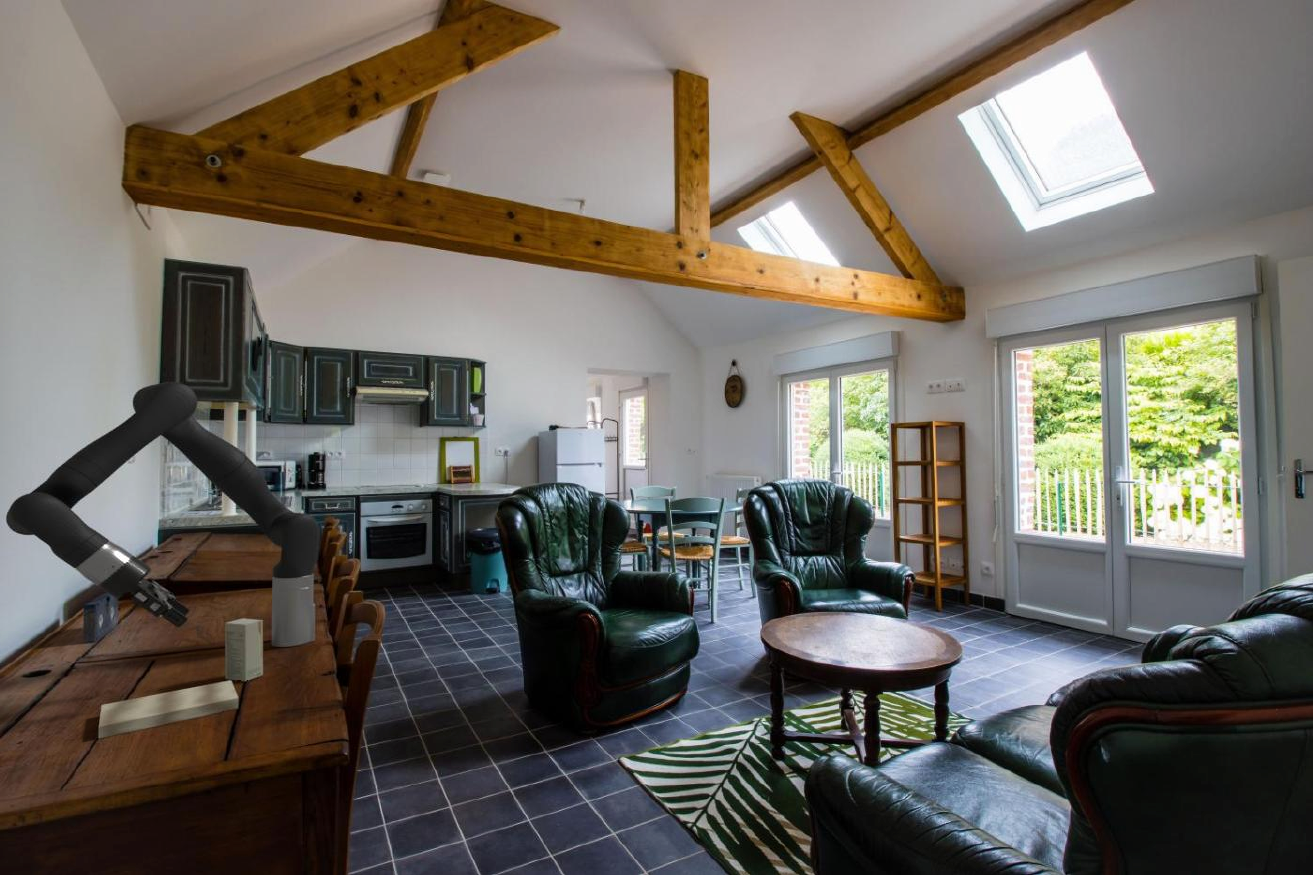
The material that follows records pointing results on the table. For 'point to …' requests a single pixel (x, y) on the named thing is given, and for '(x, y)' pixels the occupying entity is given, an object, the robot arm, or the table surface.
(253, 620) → the skincare box
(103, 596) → the vhs cassette tape
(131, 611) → the table surface
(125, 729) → the birch board
